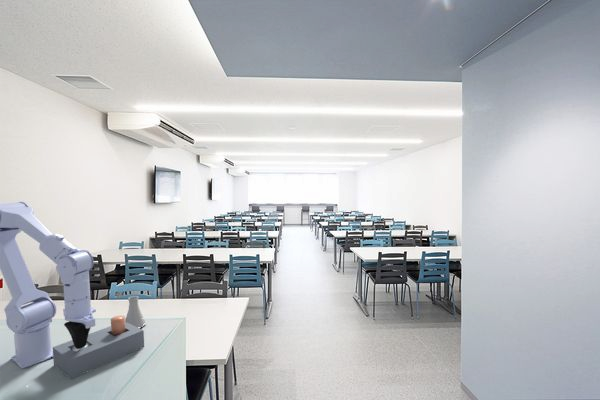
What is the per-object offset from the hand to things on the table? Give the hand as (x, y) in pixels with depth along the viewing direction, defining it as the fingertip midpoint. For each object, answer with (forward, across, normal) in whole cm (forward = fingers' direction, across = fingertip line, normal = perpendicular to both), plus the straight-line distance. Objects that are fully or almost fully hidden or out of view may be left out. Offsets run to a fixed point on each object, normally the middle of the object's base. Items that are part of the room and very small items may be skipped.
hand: (80, 346), depth 88 cm
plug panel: (+5, 0, -5) cm, 7 cm away
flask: (+5, +10, -20) cm, 23 cm away
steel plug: (+4, 0, 0) cm, 4 cm away
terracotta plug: (0, 0, -10) cm, 10 cm away
